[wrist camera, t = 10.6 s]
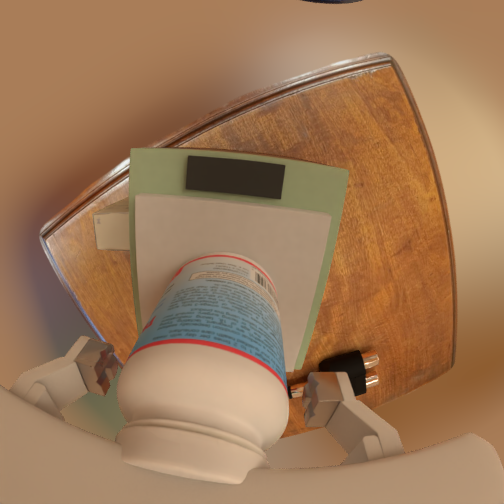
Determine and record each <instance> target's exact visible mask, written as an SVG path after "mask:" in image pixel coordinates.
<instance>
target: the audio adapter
mask: <svg viewBox="0 0 504 504" xmlns="http://www.w3.org/2000/svg"><path fill="white" fill-rule="evenodd" d="M378 364H379V360H378V355H377V353H376V351H375V350H372V351H370V352H367V353H364V354H361V352H360V351H359V350H357V351H354V352H351V353H348V354H345V355H342V356H338V357H335V358H331V359H328V360H324V361H322V362H321V363H320V364H319V368H320V372H346V373H347V375H348V378H349V380H350V383H351V386H352V389H353V392H354V395H355V396H358V395H361V394H364V393H366V388H369V387H372V386H375V385H378V384H379V380H378V376H377V373H376V371H373V372H370V373H367V374H366V370H365V369H368V368H371V367H373V366H376V365H378ZM307 383H308V382H303V383H299V384H295V385H291V386H287V390H288V399H291V398H297V397H301V396H302V394H303V389H304V386H305V385H306V384H307Z"/></svg>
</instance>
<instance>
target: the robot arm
mask: <svg viewBox="0 0 504 504" xmlns="http://www.w3.org/2000/svg"><path fill="white" fill-rule="evenodd" d="M113 353H114V347H113V345H112V344H109V343H106V342H103V341H99V340H96V339H93V338H89V337H86V336H81V337H79V339H78V340H77V341H76V343H75V344H74V345H73V346H72V348H71V349H70V350H69V352H68V353H67V354H66V355H65V357H64V358H63V357H60V358H57V359H55V360H53V361H50V362H48V363H45V364H43V365H41V366H38V367H36V368H34V369H31V370H29V371H26V372H24V373H22V374H21V376H20V377H19V378H18V379H17V381H16V382H15V383H14V385H13V386H12V387H11V389H10V390H7V389H5V388H4V387H3V386H1V385H0V504H504V469H503V467H502V464H501V462H500V459H499V457H498V454H497V452H496V450H495V449H494V447H493V446H492V445H491V444H490V443H488V442H487V441H485V440H484V439H482V438H480V437H479V436H477V435H475V434H473V433H465V434H462V435H460V436H457V437H454V438H452V439H449V440H446V441H444V442H441V443H438V444H435V445H432V446H428V447H425V448H422V449H419V450H415V451H411V452H408V453H405V452H404V449H403V446H402V443H401V440H400V438H399V435H398V432H397V430H396V429H394V428H393V427H392V426H391V425H389V424H388V423H387V422H386V421H384V420H383V419H382V418H381V417H379V416H378V415H377V414H376V413H374V412H373V411H372V410H371V409H369V408H368V407H367V406H366V405H364V404H363V403H362V402H361V401H360V400H356V398H355V395H354V392H353V389H352V386H351V383H350V380H349V378H348V375H347V373H346V372H310V374H309V376H308V383H307V384H306V385H305V386H304V389H303V394H302V404H303V407H304V408H305V409H306V411H305V413H304V418H305V425H306V427H325V428H326V429H327V430H328V431H329V433H330V434H331V435H332V436H333V437H334V438H335V440H336V441H337V442H338V443H339V444H340V445H341V446H342V448H343V449H344V450H345V451H346V452H347V453H348V457H347V458H346V459H345V460H344V461H343V462H342V463H341V464H340V465H338V466H328V467H316V468H298V469H266V468H253V469H251V470H249V471H248V473H247V475H246V478H245V479H244V480H243V482H242V483H240V484H225V483H217V482H210V481H203V480H196V479H191V478H185V477H180V476H175V475H170V474H166V473H161V472H157V471H153V470H149V469H145V468H141V467H138V466H134V465H131V464H128V463H126V462H124V461H123V460H122V457H121V454H122V446H121V444H120V443H118V442H114V441H112V440H108V439H106V438H103V437H100V436H98V435H95V434H93V433H90V432H87V431H85V430H83V429H80V428H78V427H76V426H73V425H71V424H69V423H67V422H65V419H64V417H63V416H62V414H61V413H60V411H61V410H62V409H64V408H65V407H67V406H68V405H70V404H71V403H73V402H74V401H76V400H77V399H79V398H80V397H82V396H83V395H85V394H86V393H88V391H89V392H92V393H95V394H98V395H102V396H105V395H106V393H107V391H108V389H109V387H110V383H109V381H110V380H112V379H114V378H115V375H116V373H117V369H118V363H117V359H116V357H115V356H114V355H113Z"/></svg>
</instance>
